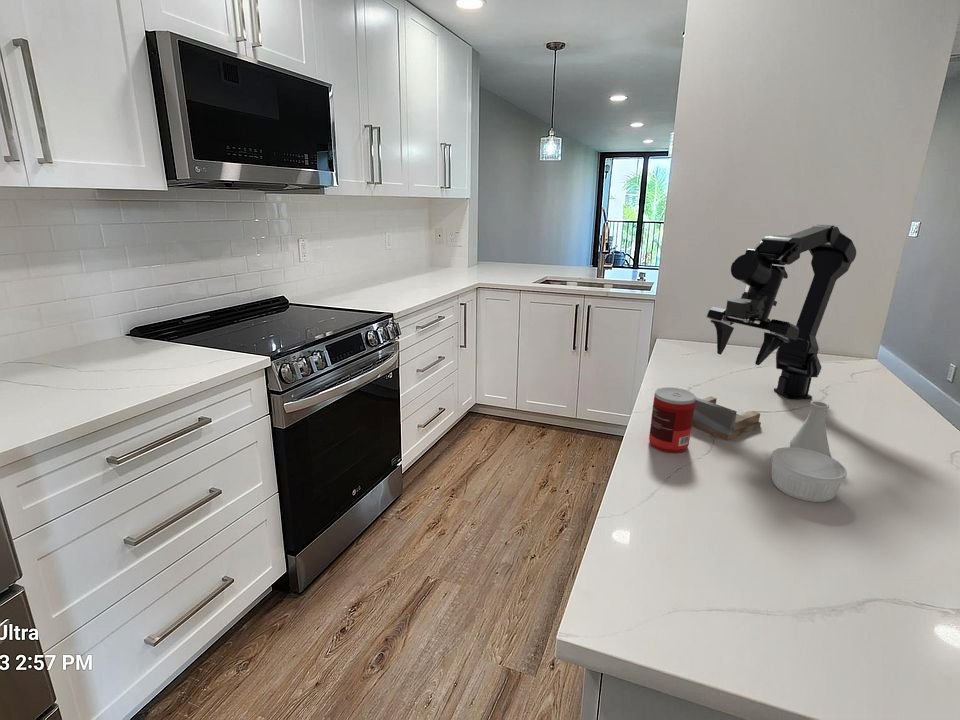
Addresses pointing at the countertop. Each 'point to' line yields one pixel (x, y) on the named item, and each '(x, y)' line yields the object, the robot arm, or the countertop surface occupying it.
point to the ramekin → (806, 474)
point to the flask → (813, 430)
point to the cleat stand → (722, 419)
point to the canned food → (672, 419)
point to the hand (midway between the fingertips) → (737, 359)
